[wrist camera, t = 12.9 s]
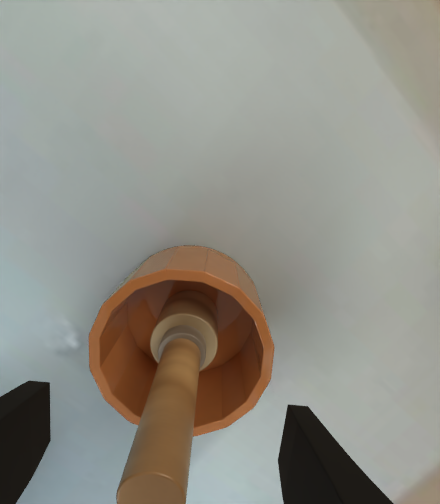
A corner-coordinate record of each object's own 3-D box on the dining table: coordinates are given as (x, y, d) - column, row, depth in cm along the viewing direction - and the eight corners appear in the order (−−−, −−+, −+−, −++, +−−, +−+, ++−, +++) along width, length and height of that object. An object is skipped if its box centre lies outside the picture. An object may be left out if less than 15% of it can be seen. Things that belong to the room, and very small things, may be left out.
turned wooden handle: (164, 343, 17) (95, 555, 8) (158, 291, 17) (74, 450, 7) (220, 340, 17) (220, 548, 8) (215, 288, 17) (211, 442, 7)
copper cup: (152, 388, 19) (130, 455, 14) (100, 270, 17) (57, 304, 13) (276, 351, 18) (294, 408, 14) (235, 225, 16) (240, 244, 12)
